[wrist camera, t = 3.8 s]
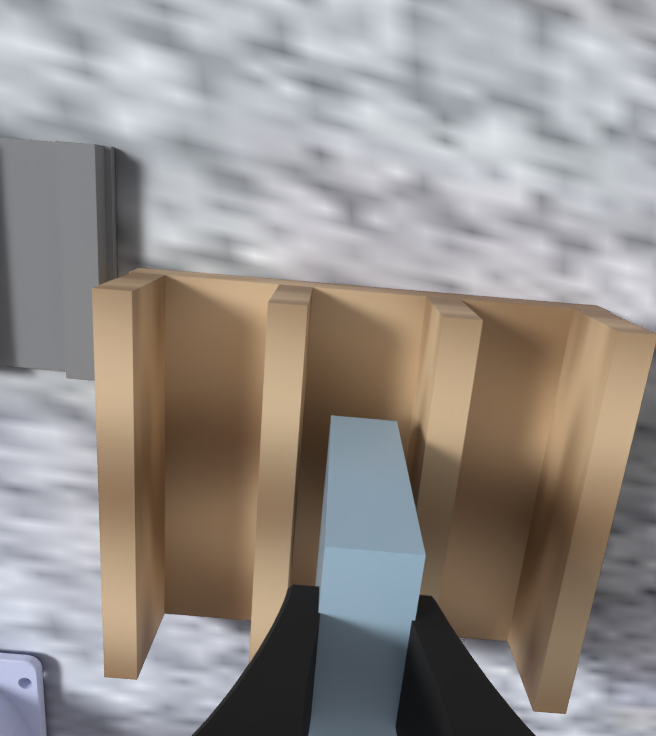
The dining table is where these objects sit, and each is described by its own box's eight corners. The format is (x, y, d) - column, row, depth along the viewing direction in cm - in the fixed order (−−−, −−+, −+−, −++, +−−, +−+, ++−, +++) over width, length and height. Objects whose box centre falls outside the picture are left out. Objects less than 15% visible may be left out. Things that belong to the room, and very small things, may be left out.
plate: (373, 602, 18) (386, 798, 13) (314, 597, 18) (300, 791, 13) (396, 421, 16) (425, 555, 11) (331, 415, 16) (324, 546, 11)
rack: (529, 623, 22) (569, 713, 18) (142, 593, 22) (101, 676, 18) (596, 305, 19) (661, 334, 15) (139, 267, 19) (87, 287, 15)
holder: (119, 372, 20) (108, 381, 19) (-39, 359, 20) (-58, 368, 19) (114, 147, 18) (101, 144, 17) (-61, 132, 18) (-84, 129, 17)
